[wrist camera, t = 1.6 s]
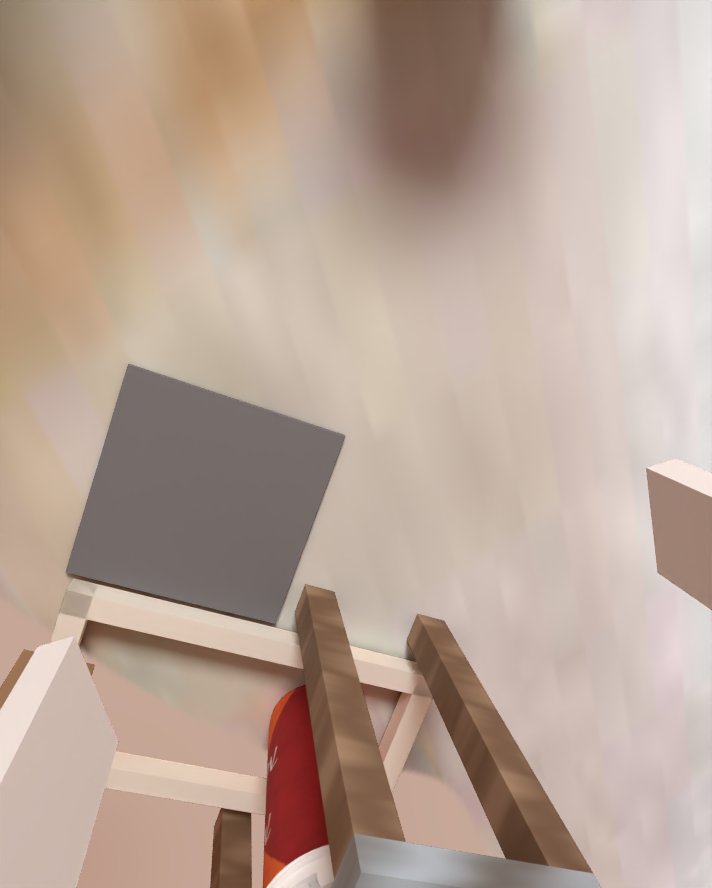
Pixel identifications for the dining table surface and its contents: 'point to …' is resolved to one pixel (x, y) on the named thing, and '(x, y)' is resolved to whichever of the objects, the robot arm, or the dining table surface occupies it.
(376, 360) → the dining table surface
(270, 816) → the coffee cup
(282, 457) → the coaster
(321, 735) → the small wooden stool
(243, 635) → the frame
